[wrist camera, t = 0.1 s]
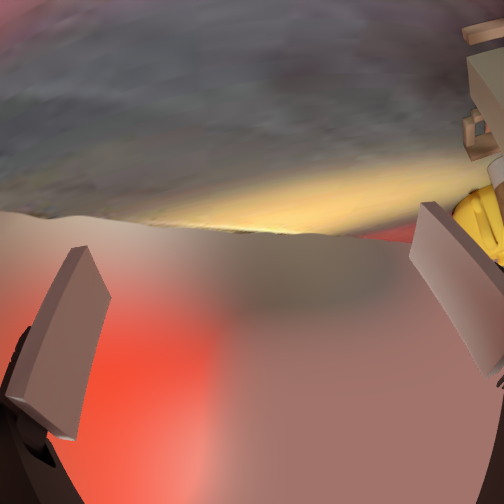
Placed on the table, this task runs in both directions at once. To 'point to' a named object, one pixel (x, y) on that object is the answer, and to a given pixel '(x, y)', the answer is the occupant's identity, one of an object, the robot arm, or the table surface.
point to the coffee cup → (498, 182)
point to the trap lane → (484, 142)
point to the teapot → (483, 221)
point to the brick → (489, 89)
